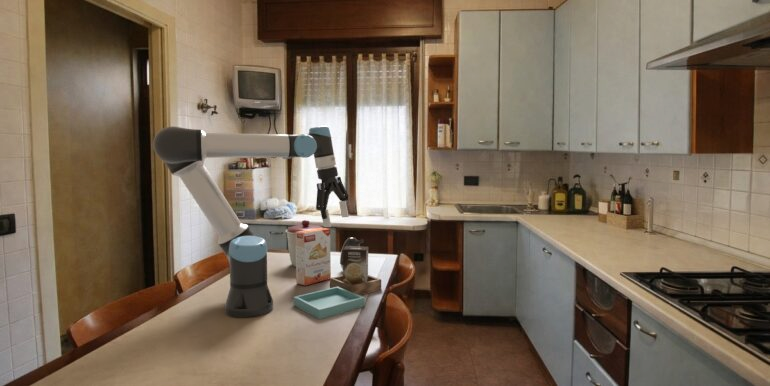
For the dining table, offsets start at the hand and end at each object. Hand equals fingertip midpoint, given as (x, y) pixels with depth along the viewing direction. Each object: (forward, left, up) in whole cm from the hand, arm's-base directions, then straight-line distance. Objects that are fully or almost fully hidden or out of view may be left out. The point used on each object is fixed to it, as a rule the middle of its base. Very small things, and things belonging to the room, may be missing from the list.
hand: (336, 221), depth 165 cm
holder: (+4, -7, -25) cm, 27 cm away
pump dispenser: (+18, +14, -26) cm, 34 cm away
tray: (-14, -16, -25) cm, 33 cm away
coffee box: (+4, -7, -26) cm, 27 cm away
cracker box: (-3, +11, -25) cm, 28 cm away
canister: (+8, +36, -26) cm, 45 cm away
